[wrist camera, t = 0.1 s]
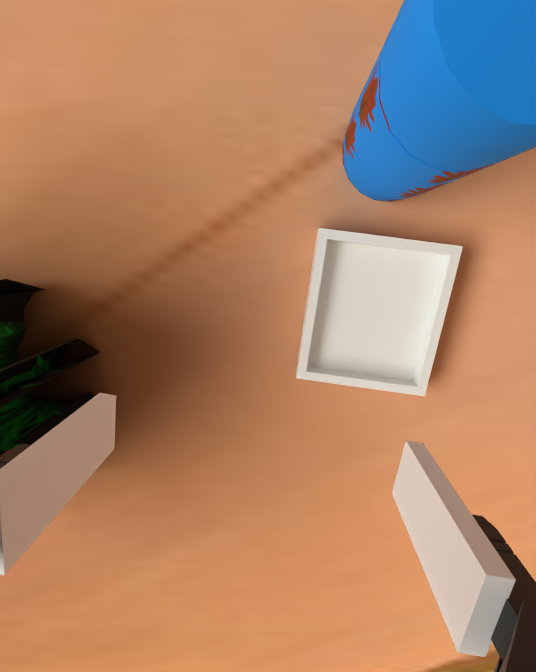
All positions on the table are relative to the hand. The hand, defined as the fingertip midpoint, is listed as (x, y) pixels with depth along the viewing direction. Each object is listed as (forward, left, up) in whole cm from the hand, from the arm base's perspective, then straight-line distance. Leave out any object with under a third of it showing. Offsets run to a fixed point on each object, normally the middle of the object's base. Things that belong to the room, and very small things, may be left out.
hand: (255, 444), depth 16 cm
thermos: (-20, +10, -28) cm, 36 cm away
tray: (-2, +11, -28) cm, 30 cm away
